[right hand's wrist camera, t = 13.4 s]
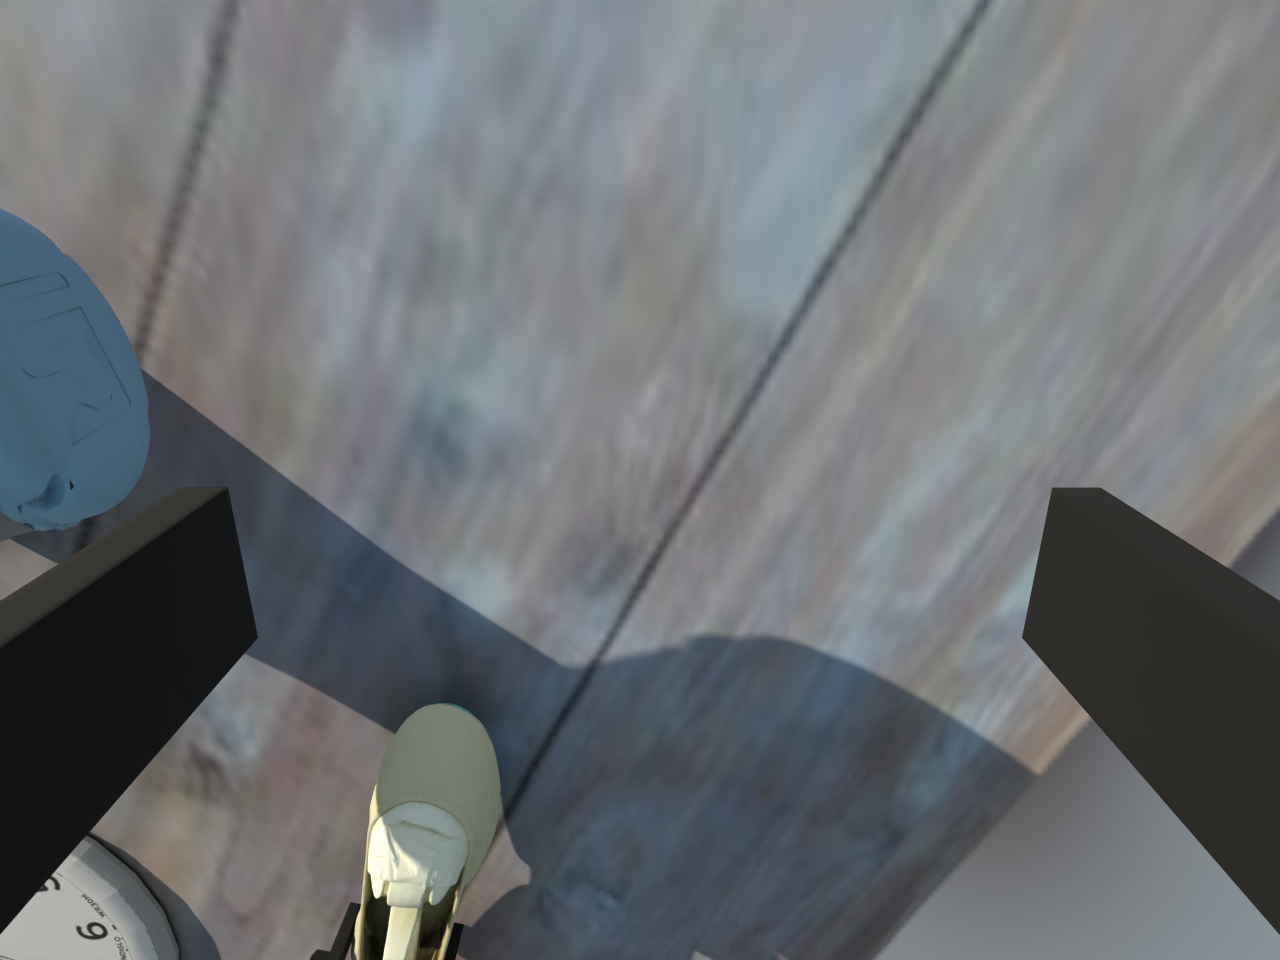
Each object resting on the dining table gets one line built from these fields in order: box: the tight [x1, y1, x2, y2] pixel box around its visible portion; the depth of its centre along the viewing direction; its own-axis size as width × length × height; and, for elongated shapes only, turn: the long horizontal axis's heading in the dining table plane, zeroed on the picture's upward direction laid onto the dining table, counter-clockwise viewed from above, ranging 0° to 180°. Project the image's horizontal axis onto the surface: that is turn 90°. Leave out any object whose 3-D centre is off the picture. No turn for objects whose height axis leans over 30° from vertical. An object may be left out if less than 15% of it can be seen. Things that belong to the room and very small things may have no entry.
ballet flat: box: [351, 703, 501, 960], centre depth 50 cm, size 8×25×8 cm, turn 167°
